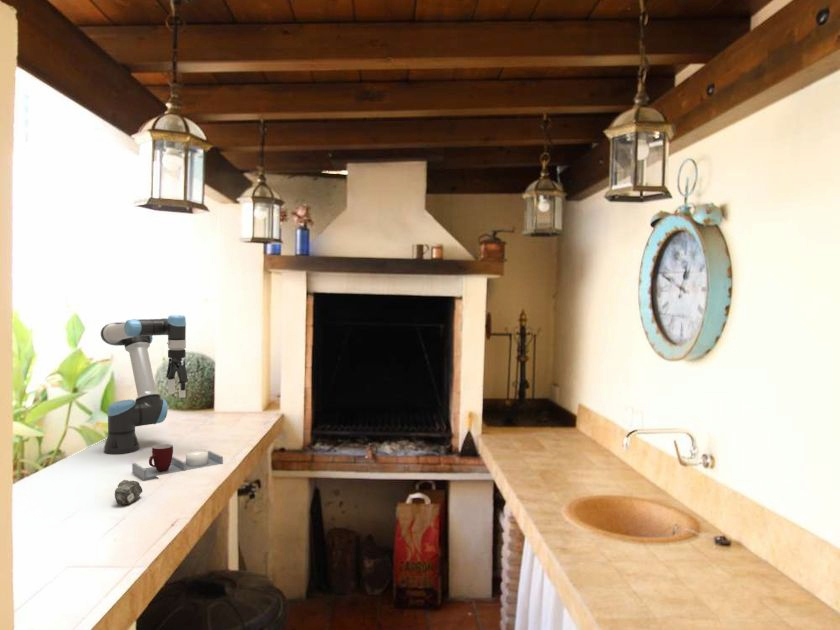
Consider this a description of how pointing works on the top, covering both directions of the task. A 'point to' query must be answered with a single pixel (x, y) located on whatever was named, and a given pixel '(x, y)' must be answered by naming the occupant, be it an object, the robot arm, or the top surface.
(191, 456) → the white egg shape
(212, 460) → the rack
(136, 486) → the stone
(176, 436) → the top surface
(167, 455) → the red cup
